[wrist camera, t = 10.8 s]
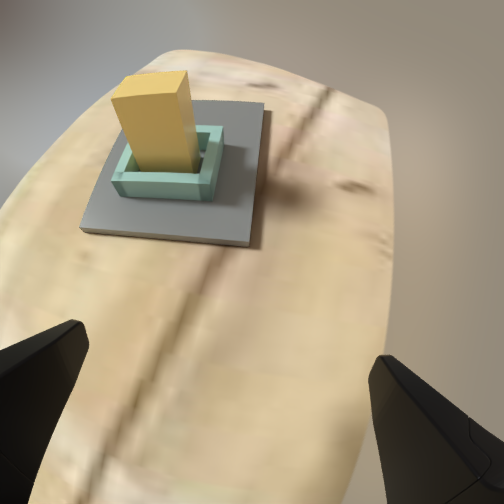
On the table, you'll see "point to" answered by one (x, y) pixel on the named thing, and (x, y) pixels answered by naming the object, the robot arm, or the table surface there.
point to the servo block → (159, 121)
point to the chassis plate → (186, 184)
